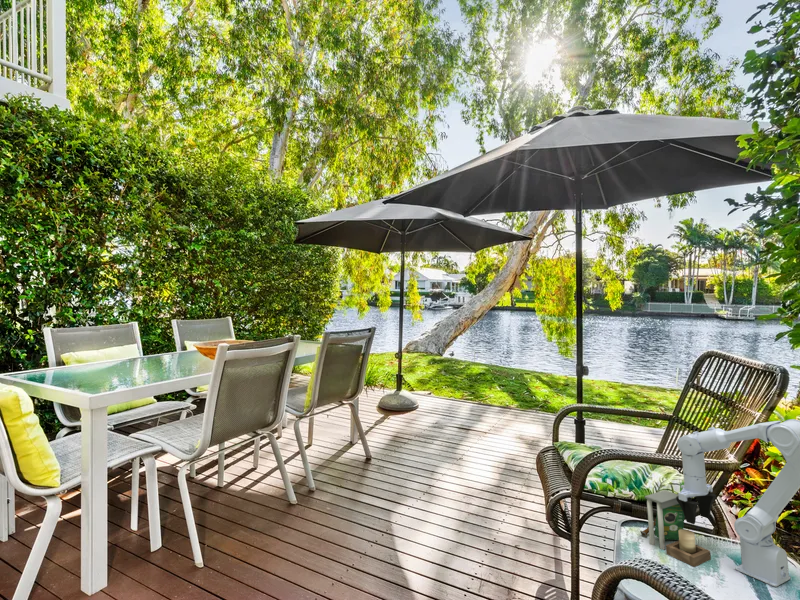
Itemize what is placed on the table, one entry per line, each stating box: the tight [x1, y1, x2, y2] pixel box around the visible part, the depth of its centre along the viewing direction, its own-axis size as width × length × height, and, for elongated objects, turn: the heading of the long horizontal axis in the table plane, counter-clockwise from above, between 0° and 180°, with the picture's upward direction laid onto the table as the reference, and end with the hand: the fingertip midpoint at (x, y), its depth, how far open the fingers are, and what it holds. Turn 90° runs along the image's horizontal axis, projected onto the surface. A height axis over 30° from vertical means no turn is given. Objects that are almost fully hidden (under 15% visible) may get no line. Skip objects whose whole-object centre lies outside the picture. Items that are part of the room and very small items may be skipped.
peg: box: [678, 528, 696, 555], centre depth 127 cm, size 4×4×7 cm
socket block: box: [665, 540, 712, 568], centre depth 127 cm, size 8×8×2 cm
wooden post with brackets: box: [639, 518, 656, 538], centre depth 141 cm, size 2×8×4 cm, turn 109°
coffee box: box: [654, 504, 685, 541], centre depth 137 cm, size 8×3×13 cm, turn 96°
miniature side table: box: [644, 489, 679, 551], centre depth 135 cm, size 6×10×15 cm, turn 116°
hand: (697, 519), depth 130 cm, fingers open, 7 cm apart
